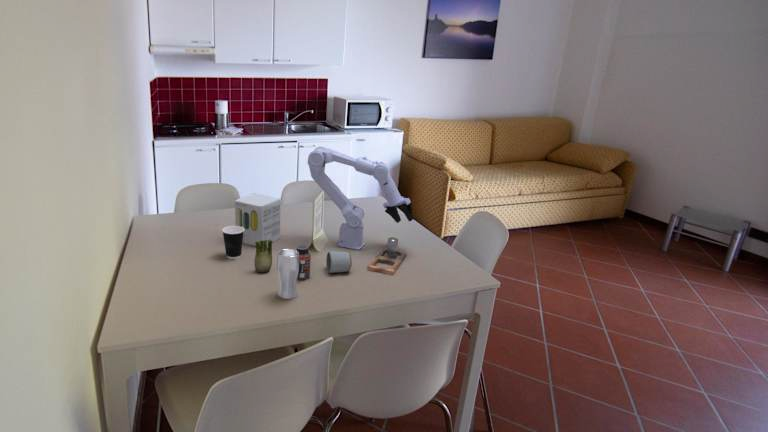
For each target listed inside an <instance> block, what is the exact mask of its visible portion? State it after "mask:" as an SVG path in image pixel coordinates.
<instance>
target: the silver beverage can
mask: <svg viewBox="0 0 768 432" xmlns="http://www.w3.org/2000/svg"><path fill="white" fill-rule="evenodd" d="M276 271H277V275H278V283H279V285H278V287H279V288H278V293H277V295H278V297H279V298H280V299H283V300H293V299H295V298H297V296H298V290H297V281H298V279H297V277H298V272H299V252H298V251H297V250H296V249H293V248H282V249H281V250H278V252H277V259H276Z"/></svg>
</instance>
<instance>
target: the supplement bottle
mask: <svg viewBox="0 0 768 432" xmlns="http://www.w3.org/2000/svg"><path fill="white" fill-rule="evenodd" d="M295 250H297V251H298V252H299V272H298V277H297V281H298V280H299V281H305V280H307V279H309V278H310V277H311V259H312V258H311V257H312V255H311V252H309V247H308V245H305V244H304V245H303V244H302V245H297V246H296V249H295Z"/></svg>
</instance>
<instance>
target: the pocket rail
mask: <svg viewBox="0 0 768 432" xmlns="http://www.w3.org/2000/svg"><path fill="white" fill-rule="evenodd" d="M386 254H387V247H383V248H382V249H381V250H380V251H379V252H378V254H376V256H375V257H374V258H373V259H372V261H370V263H369V264H368V265H367V267H366V268H367V269H366V270H367V271H371V272H376V273H380V274H383V275H384V274H386V275H390V276H393V275H394V274H395V273H396V272H397V271H398V269H399V268H400V266H401V265H402V263H403V262H404V260H405V259H406V257H407V255H408V252H407V251H402V250H397V256H398V258H396V259H394V258H388V257H386V256H385V255H386ZM378 263H380V264H385V265H390V266H391V268H387V267H381V266H376V265H377V264H378Z"/></svg>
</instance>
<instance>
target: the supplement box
mask: <svg viewBox="0 0 768 432" xmlns="http://www.w3.org/2000/svg"><path fill="white" fill-rule="evenodd" d="M281 203H282V200H281V197H274V196H270V195H264V194H260V193H255V192H254V193H251V194H249V195H246V196H244V197H243V196H242V197H241V198H238V199H236V200H235V199H234V215H235V216H234V217H235V219H234V220H235V222H234V224H235V225H234V226H240V227H243V228H244V232H243V242H242V244H245V245H249V246H254V247H256V244H255V242H256V241H259V243H260V240H267V246H268V240H272V243H274V242H276V241H278V240H280V239H281V206H282V205H281Z"/></svg>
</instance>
